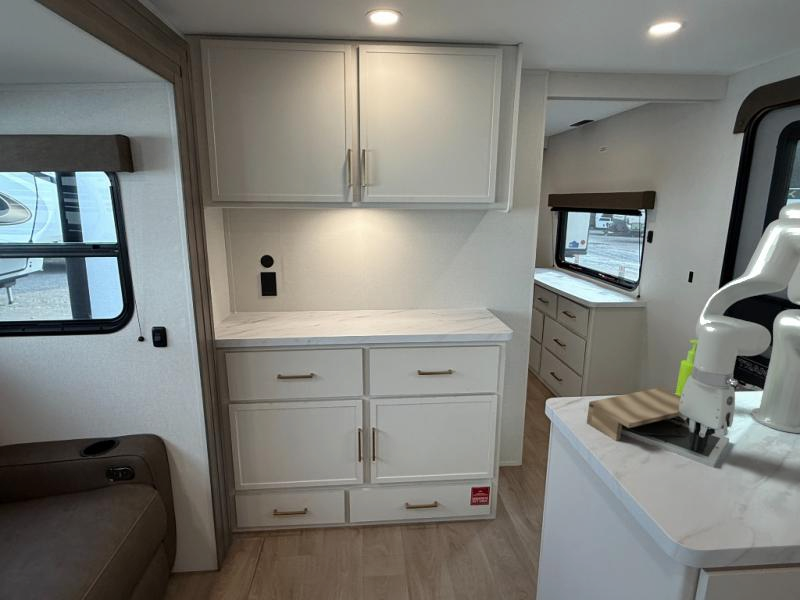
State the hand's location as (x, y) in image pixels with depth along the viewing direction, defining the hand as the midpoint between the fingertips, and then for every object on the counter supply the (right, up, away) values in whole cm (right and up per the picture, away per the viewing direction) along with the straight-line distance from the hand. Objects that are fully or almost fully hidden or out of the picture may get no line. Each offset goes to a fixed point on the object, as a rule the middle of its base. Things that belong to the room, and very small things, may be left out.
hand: (697, 448), depth 108 cm
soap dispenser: (+14, +4, +26) cm, 30 cm away
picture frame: (-1, -1, +8) cm, 8 cm away
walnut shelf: (-6, +2, +13) cm, 14 cm away
